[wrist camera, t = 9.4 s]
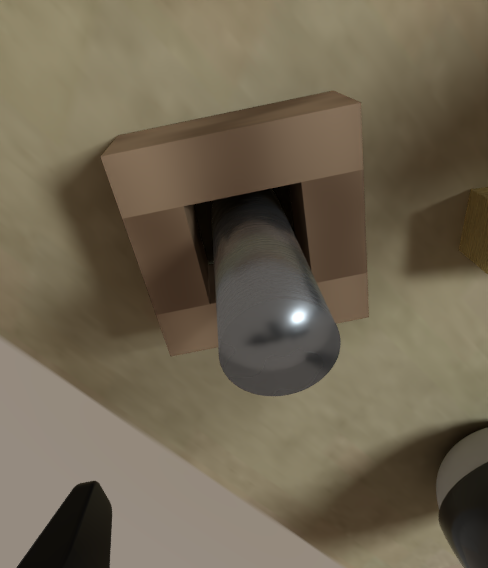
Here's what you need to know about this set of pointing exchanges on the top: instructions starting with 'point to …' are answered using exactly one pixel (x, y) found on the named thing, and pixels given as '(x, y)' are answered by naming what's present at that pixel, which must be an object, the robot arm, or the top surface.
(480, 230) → the square bit
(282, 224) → the cylinder
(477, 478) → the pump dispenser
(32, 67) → the top surface
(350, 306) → the socket block
